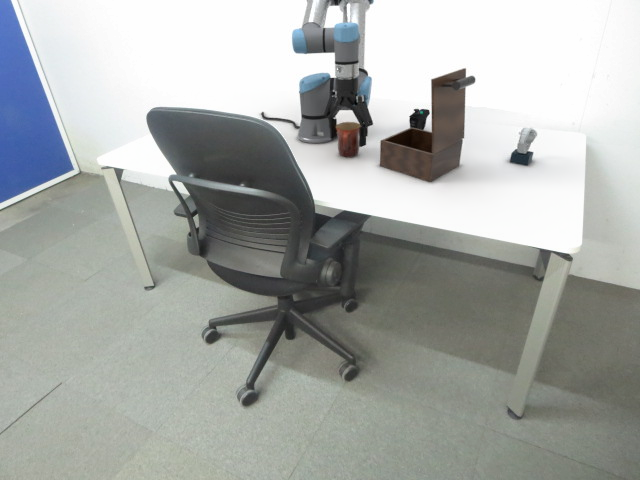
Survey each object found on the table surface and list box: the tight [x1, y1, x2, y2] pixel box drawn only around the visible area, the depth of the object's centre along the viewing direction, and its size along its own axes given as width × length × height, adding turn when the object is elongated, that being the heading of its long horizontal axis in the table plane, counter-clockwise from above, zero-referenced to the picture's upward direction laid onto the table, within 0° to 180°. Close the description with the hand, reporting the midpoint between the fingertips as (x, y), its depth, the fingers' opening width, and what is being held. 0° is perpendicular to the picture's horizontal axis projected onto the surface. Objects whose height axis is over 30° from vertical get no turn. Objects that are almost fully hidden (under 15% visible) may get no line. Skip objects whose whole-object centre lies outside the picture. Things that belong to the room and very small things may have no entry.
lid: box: [430, 67, 476, 153], centre depth 122 cm, size 21×17×6 cm
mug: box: [336, 121, 361, 158], centre depth 147 cm, size 12×9×10 cm
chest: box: [379, 127, 464, 183], centre depth 137 cm, size 20×17×9 cm
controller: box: [408, 108, 431, 130], centre depth 164 cm, size 4×12×10 cm, turn 145°
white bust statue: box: [509, 126, 538, 167], centre depth 136 cm, size 6×8×11 cm
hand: (347, 141), depth 147 cm, fingers open, 13 cm apart
